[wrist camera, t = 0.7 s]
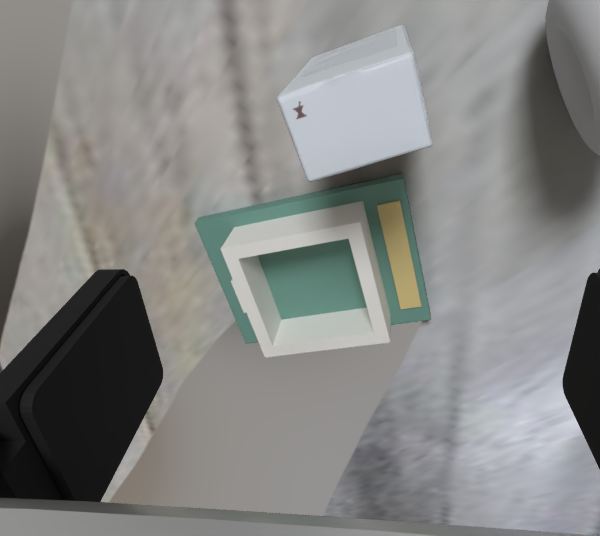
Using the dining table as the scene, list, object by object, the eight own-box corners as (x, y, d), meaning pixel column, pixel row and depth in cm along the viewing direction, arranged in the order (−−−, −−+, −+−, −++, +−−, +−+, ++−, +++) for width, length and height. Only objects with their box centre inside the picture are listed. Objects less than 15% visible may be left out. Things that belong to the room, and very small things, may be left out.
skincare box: (331, 121, 33) (304, 185, 23) (311, 56, 31) (271, 95, 21) (422, 92, 31) (435, 148, 21) (406, 21, 29) (412, 46, 19)
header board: (402, 173, 34) (403, 198, 30) (430, 312, 39) (434, 348, 36) (198, 217, 38) (177, 244, 35) (248, 336, 44) (234, 370, 40)
